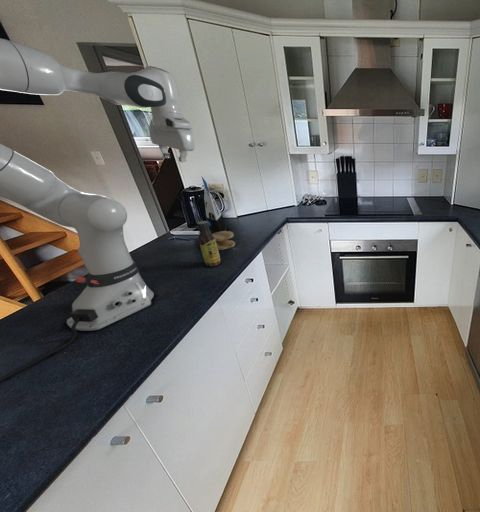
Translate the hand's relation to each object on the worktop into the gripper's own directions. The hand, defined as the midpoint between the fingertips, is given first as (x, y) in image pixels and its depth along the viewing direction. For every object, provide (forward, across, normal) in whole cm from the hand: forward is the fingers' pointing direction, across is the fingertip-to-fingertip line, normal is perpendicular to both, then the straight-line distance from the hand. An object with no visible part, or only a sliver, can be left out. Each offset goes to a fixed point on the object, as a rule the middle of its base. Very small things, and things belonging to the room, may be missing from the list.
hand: (174, 160), depth 105 cm
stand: (+44, -5, +20) cm, 49 cm away
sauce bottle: (+44, +9, +4) cm, 45 cm away
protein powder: (+45, -29, +35) cm, 64 cm away
